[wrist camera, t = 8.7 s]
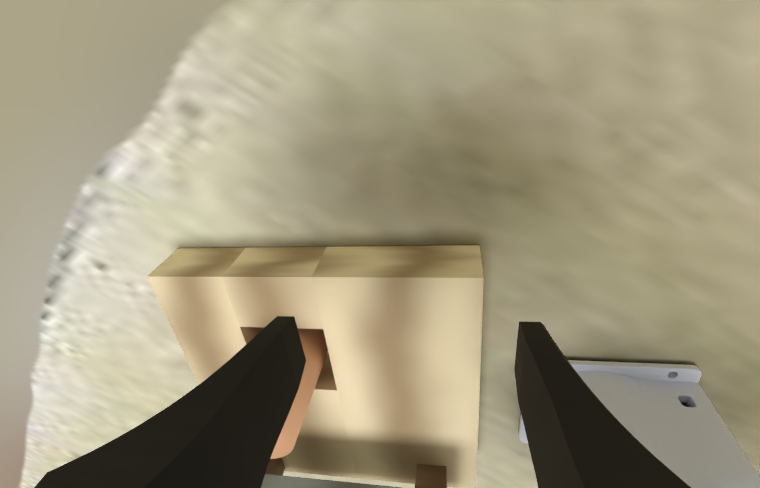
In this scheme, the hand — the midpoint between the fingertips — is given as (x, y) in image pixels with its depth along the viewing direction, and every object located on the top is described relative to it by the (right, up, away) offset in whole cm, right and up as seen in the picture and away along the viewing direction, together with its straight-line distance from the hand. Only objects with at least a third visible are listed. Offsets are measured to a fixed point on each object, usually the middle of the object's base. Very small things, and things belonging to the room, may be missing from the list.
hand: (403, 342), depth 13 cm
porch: (-3, -5, +15) cm, 16 cm away
